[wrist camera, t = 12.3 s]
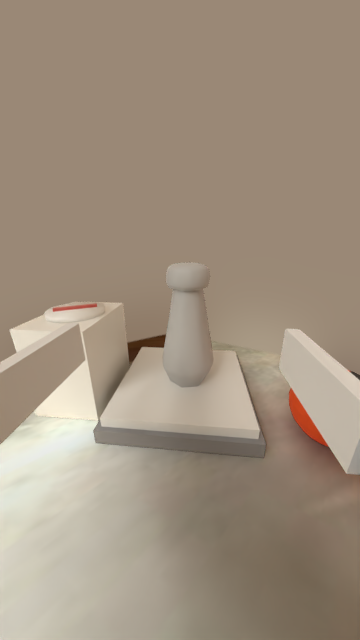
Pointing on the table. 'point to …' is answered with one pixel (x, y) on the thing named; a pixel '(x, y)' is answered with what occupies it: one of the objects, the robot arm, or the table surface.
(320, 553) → the table surface
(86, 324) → the dial scale
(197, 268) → the salt shaker
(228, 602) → the table surface
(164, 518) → the table surface
